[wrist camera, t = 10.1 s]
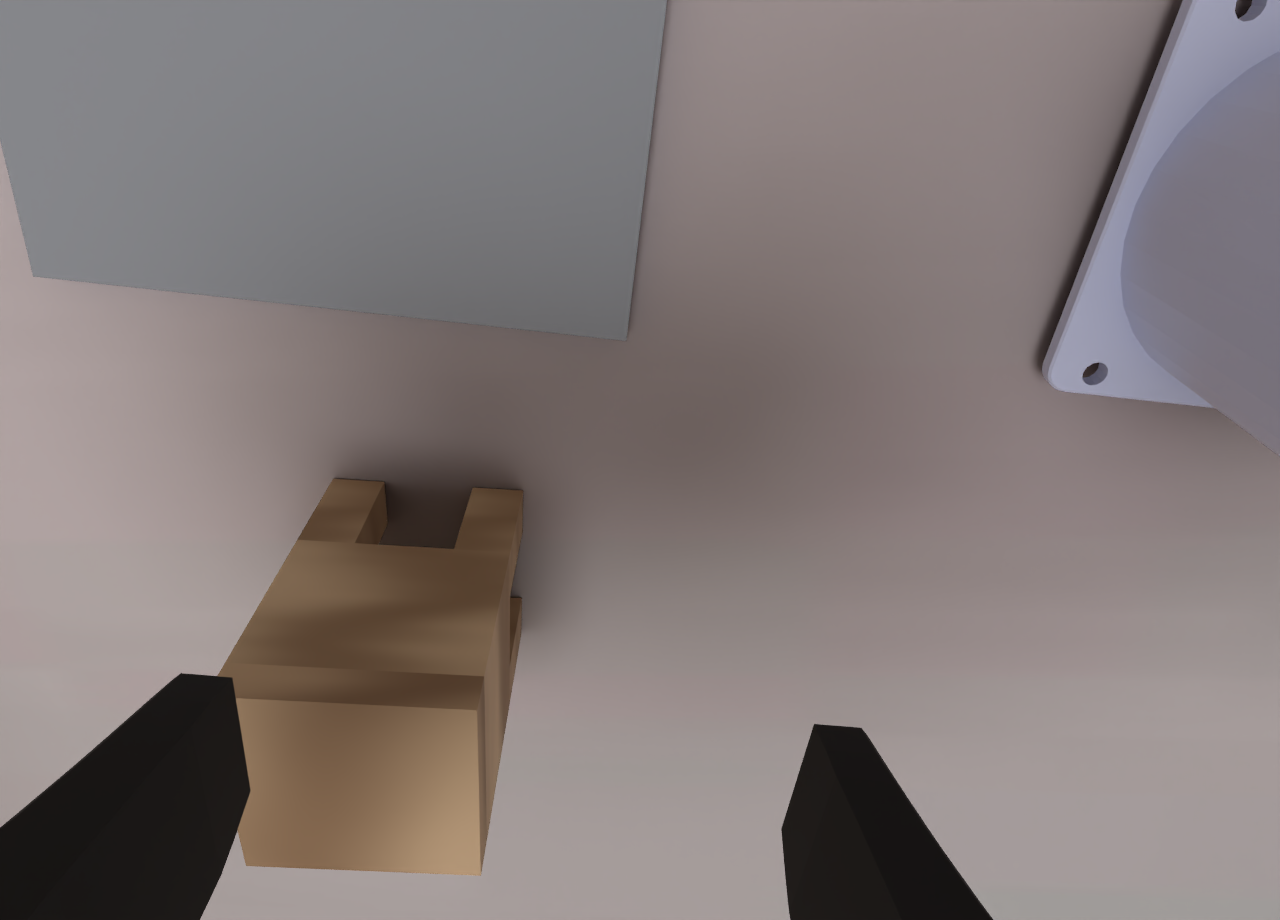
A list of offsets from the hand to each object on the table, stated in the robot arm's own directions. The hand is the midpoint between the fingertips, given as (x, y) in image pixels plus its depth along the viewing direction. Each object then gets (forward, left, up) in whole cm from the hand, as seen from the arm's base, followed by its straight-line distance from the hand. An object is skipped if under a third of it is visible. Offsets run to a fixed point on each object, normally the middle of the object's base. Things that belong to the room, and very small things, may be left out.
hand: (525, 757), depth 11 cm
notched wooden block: (+3, +5, -10) cm, 11 cm away
